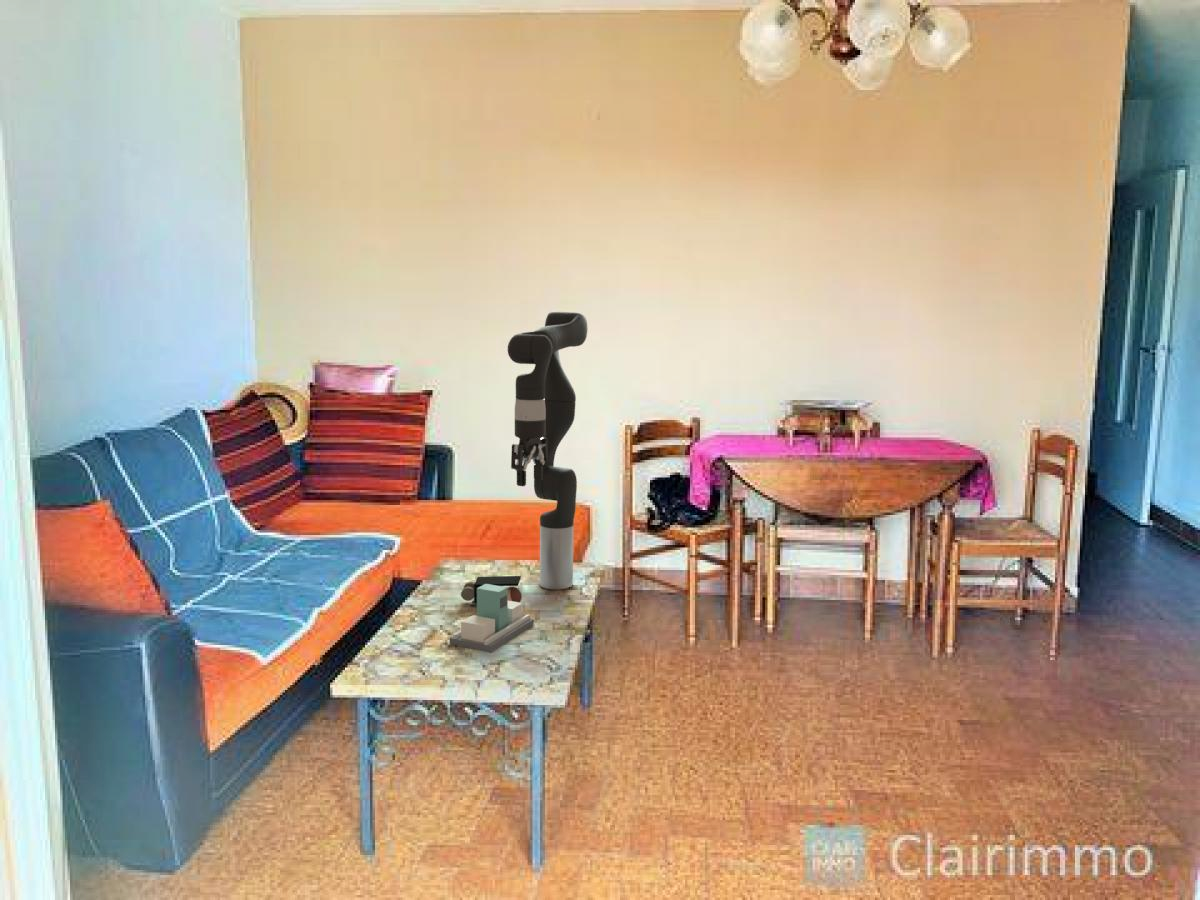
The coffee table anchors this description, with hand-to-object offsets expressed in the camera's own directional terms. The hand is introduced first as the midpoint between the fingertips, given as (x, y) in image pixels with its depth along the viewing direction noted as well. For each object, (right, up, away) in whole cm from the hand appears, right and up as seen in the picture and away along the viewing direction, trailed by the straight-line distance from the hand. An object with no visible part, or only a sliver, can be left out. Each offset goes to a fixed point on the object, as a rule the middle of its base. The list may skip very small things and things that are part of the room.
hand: (530, 482), depth 233 cm
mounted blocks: (-8, -34, -8) cm, 36 cm away
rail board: (-8, -36, -8) cm, 37 cm away
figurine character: (-11, -32, +13) cm, 37 cm away
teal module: (-8, -34, -8) cm, 36 cm away
